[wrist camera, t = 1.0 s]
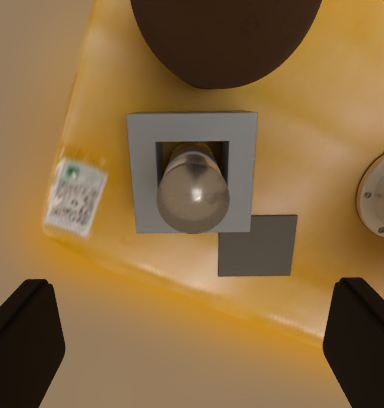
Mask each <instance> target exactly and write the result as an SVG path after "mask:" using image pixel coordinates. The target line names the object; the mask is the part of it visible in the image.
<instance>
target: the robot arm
mask: <svg viewBox="0 0 384 408" xmlns="http://www.w3.org/2000/svg"><path fill="white" fill-rule="evenodd" d="M356 205H357V211H358V214H359V216H360V219H361V220H362V222H363V223H364V225H365V226H366V227H367V228H369V229H370V230H371V231H372V232H374V233H375V234H377V235H379V236H381V237H384V155H382V156H381V157H380V158H379V159H377V160H376V161H375V162H374V163H373V164H372V166H371V167H370V168H369V169H368V170H367V172H366V173H365V175H364V177H363V178H362V181H361V183H360V185H359V188H358V192H357V202H356ZM323 352H324V355H325V357H326V359H327V361H328V363H329V365H330V367H331V369H332V371H333V373H334V375H335V376H336V378H337V380H338V382H339V383H340V386H341V388H342V390H343V392H344V393H345V395H346V397H347V399H348V401H349V403H350V405H351V406H352V408H384V300H383V299H382V297H381V296H380V295H379V294H378V293H377V292H376V291H375V290H374V289H373V288H372V287H371V286H370V285H369V284H368V283H367V282H366V281H365V280H364V279H362V278H359V277H356V278H341V279H340V281H339V282H337V283H336V284H335V286H334V291H333V296H332V301H331V306H330V311H329V316H328V321H327V326H326V331H325V336H324V341H323ZM64 354H65V342H64V337H63V332H62V328H61V322H60V318H59V313H58V308H57V303H56V298H55V293H54V288H53V286H52V284H48V281H47V280H45V279H28V280H25V281H24V282H23V283H22V284H21V285H20V286H19V287H18V288H17V289H16V291H14V293H13V294H12V295H11V296H10V297H9V298H8V299H7V300H6V301H5V302H4V303H3V304H2V305H1V306H0V408H38V407H39V406H40V403H41V402H42V400H43V398H44V396H45V393H46V392H47V390H48V388H49V386H50V384H51V381H52V380H53V378H54V376H55V374H56V372H57V370H58V368H59V366H60V364H61V362H62V360H63V357H64Z"/></svg>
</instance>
